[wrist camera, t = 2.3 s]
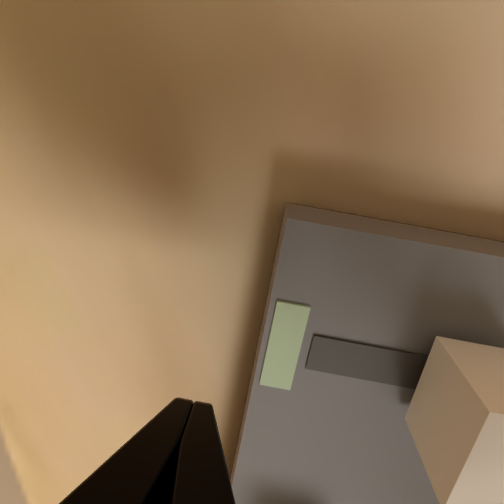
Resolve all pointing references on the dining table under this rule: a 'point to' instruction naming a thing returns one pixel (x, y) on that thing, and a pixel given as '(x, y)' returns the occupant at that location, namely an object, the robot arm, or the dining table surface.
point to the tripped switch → (461, 421)
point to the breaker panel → (356, 355)
